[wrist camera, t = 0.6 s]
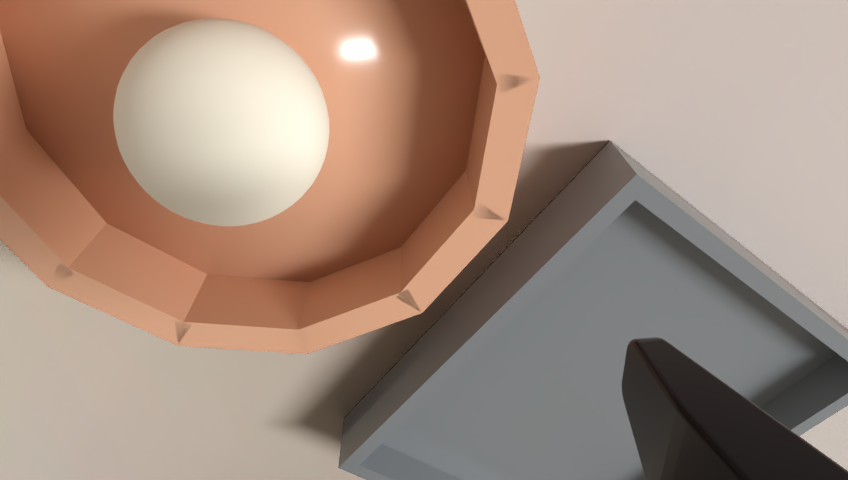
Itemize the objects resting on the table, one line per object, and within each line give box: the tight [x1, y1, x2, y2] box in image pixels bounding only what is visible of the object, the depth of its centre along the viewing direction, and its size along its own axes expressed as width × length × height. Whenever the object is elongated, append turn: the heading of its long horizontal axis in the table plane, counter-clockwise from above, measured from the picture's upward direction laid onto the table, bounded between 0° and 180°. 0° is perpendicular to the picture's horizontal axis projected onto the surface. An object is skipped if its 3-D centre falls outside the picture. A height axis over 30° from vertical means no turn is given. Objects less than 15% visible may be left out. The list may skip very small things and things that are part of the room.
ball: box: [113, 18, 329, 226], centre depth 14 cm, size 5×5×5 cm
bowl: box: [0, 0, 540, 354], centre depth 16 cm, size 15×15×4 cm
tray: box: [338, 141, 848, 480], centre depth 23 cm, size 16×14×2 cm
